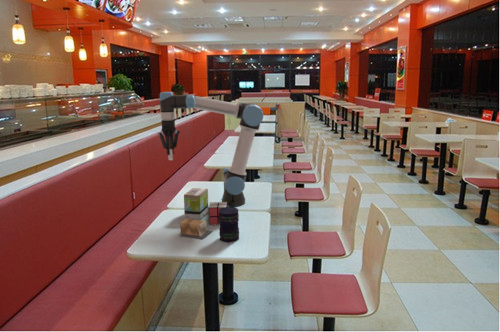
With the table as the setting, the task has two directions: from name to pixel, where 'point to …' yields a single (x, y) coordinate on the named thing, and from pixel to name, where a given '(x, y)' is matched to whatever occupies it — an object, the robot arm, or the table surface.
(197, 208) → the tea box
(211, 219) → the puzzle cube
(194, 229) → the oak block
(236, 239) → the storage jar
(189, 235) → the mat
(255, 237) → the table surface
